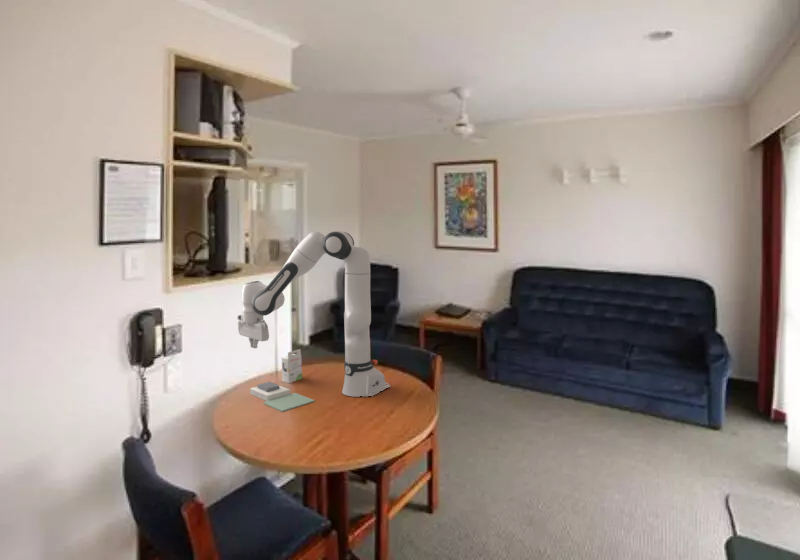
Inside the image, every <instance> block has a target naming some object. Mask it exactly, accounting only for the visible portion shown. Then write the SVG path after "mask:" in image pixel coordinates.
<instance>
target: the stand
mask: <svg viewBox="0 0 800 560" xmlns="http://www.w3.org/2000/svg"><path fill="white" fill-rule="evenodd" d="M289 394H291V393H290V388H287V387H284V386H282V385H279V389H277V390H273V391H270V392H266V391H263V390H261V389H258V388H257V386H254V387H251V388H249V395H252V396H254V397H255V398H259V399H260V400H263V401H264V402H265V401H269V400H272V399H276V398H279V397H282V396H286V395H289Z"/></svg>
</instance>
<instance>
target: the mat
mask: <svg viewBox="0 0 800 560" xmlns="http://www.w3.org/2000/svg"><path fill="white" fill-rule="evenodd" d="M315 401H316V400H315V399H312V398H309V397H307V396H305V395H301V394H300V393H298V392H294V393H290V394H289V395H286V396H282V397H279V398H276V399H272V400H269V401H265V400H264V401H263V402H262V404H264V405H266V406H268V407H270V408H273V409H275V410H277V411H278V412H281V413H283V412H286V411H288V410H293V409H296V408H298V407H301V406H304V405H308V404H311V403H314V402H315Z"/></svg>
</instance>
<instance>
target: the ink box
mask: <svg viewBox="0 0 800 560" xmlns="http://www.w3.org/2000/svg"><path fill="white" fill-rule="evenodd" d="M302 365H303V361H302V351H301V348H299V349H295V350H291V351H288V352H287V355H286V356H283V357H281V378H282V382H284V383H287V384H290V383H293V381H294V382H296V381H299V380H303V366H302Z"/></svg>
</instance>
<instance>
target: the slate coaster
mask: <svg viewBox="0 0 800 560" xmlns="http://www.w3.org/2000/svg"><path fill="white" fill-rule="evenodd" d="M279 386H280V385H279V384H276V383H274V382H271V381H265V382H263V383H258V384H257V385H256V387H257V388H258V389H261V390H263V391H266V392H270V391H273V390H277V389H279Z"/></svg>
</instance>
